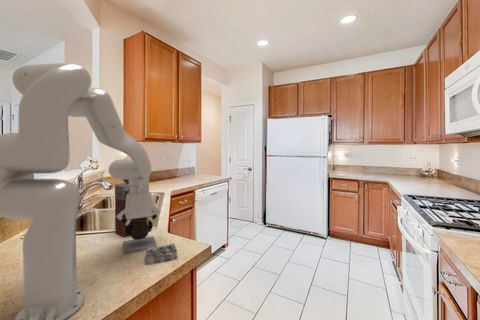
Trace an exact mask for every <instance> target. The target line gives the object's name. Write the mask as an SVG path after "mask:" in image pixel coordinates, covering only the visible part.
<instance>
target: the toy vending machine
mask: <svg viewBox="0 0 480 320" xmlns="http://www.w3.org/2000/svg"><path fill="white" fill-rule="evenodd" d="M122 180H123V179H122ZM128 186H129V180H123V182H121V183H116V184H115V185H114V214H115V215H114V219H115V222H114V223H115V224H114V227H115V228H114V230H115V231H114V232H115V233H114V234H116V235H117V236H120V237H121V238H126V237H127V236H128V237H131V235H128V233H126V225H125V224H124V223H122V222H121V221H120V220H119V219H118V218H117V215H118V214H119V213H120V212H122V211H123V210H124V209H125V205H126V196H127V193H129V192H128V191H125V188H127V187H128ZM122 217H123V218H124V219H126V220H127V218H126V216H125V214H124V215H122ZM129 224H130V228H131V226H132V219H131V221H130V223H129Z"/></svg>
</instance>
